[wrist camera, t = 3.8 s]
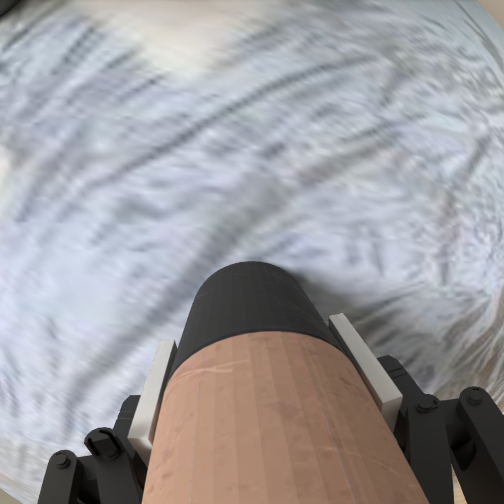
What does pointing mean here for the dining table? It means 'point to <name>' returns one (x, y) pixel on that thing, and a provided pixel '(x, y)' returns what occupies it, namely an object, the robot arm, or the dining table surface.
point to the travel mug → (269, 406)
